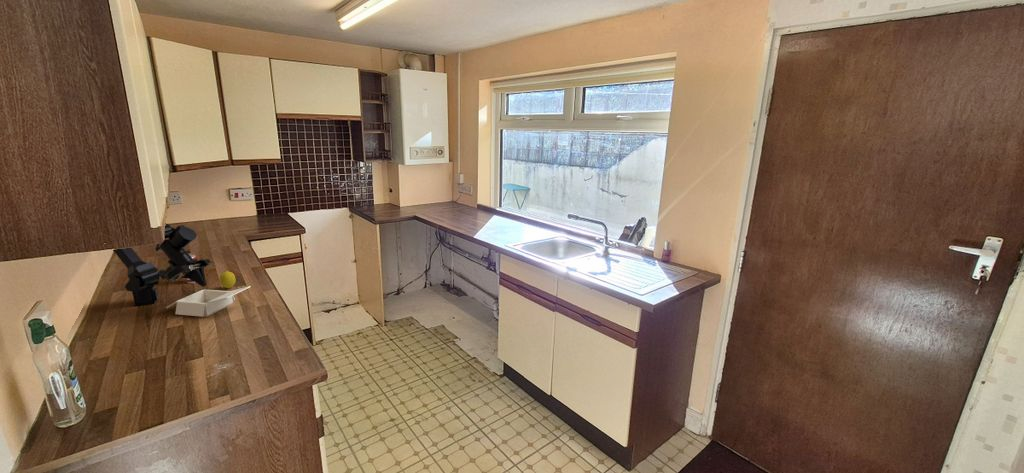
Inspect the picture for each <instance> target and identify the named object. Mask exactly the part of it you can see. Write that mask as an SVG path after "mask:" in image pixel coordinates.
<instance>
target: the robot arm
mask: <svg viewBox="0 0 1024 473" xmlns="http://www.w3.org/2000/svg"><path fill="white" fill-rule="evenodd" d="M165 224H166V226H165V239H164V240H163V241H164V242H163V241H162V242H163V243H161V244H157V243H156V244H157V245H156V246H155V251H156V252H158V251H162V252H163V253H164V254H165V256H166V257H167V258H168V259H169V260H168V261H167V263H168V264H169V266H168V267H166V268H162V269H158V268H157V267H156V266H155V264H154V263H153V262H152V261H149V262H145V261H144V260H142V259H141V257H140V256H139V255H138V254H137V253H136V251H135V250H134V249H133V248H132V247H131V248H126V249H117V250H112V251H113V252H114V254H115V255H116V256H117V258H119V260H120V261H121V262H122V263H123V265H124V266H125V267H126V268H127V277H128V279H129V280H128V282H126V284H125V285H124V287H125V290H126V291H127V292H132V297H133V302H134V303H133V305H132V306H133V307H138V306H147V305H152V304H153V305H154V304H155V303H156V302H157V301H158V299H160V297H159V293H158V288H156V285H157V286H158V285H159V282H160V278H161V280H167V281H169V282H172V281H176V280H178V279H179V277H180V275H181V274H182V276H181V277H180V279H186V278H187V279H190V280H192V281H194V282H196V283H195V284H197V285H199V286H200V287H203V288H204V287H206V286H207V280H206V273H205V268H207V267H208V266H209V265H210V264H211V265H212V263H213V262H212V261H211V260H210V259H209V258H202V259H199V260H198V258H197V259H195V260H194V259H193V258H192V257H191V256H190V255H191V251H190V250H186V249H185V247H187V246H188V245H189V244H191V243H192V242H194V240H195V239H197V233H196V231H195V230H194V229H192V228H190V227H186V226H185V225H184V224H182V225H180V224H179V225H177V226H176V227H172V226H171V225H170V224H167V223H165Z"/></svg>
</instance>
